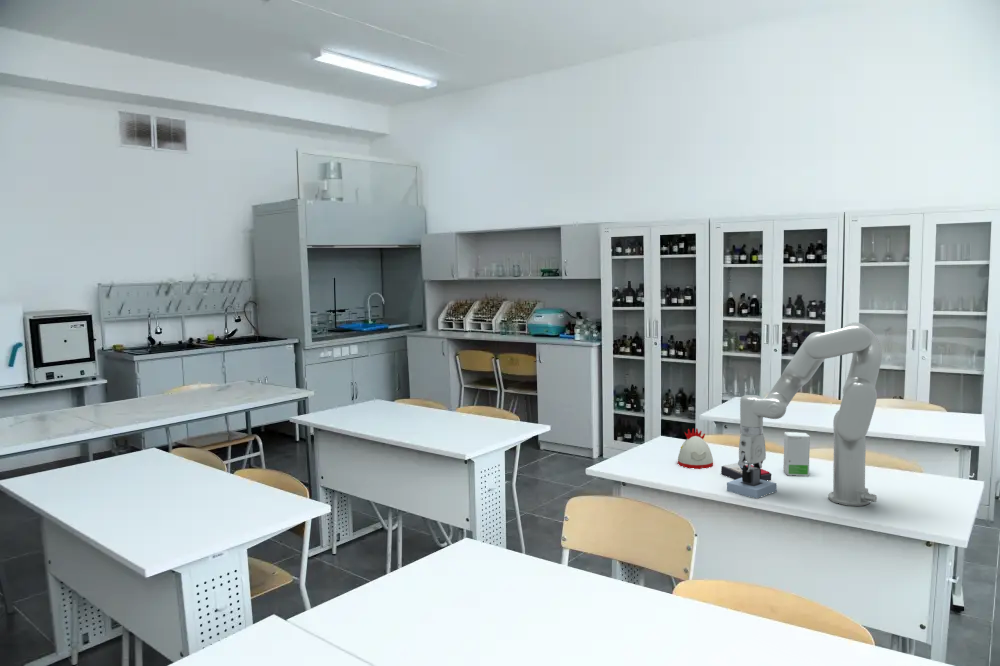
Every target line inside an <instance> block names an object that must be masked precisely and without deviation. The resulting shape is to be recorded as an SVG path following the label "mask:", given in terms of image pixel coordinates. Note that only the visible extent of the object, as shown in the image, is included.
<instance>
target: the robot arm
mask: <svg viewBox="0 0 1000 666" xmlns="http://www.w3.org/2000/svg"><path fill="white" fill-rule="evenodd" d="M848 354H852V356H851V361H850V367H849V370H848V373H847V377H846V380H845V383H844V385H843V388H842V399H841V403H840V406H839V410H837V411H836V413H835V414H834V416H833V425H832V426H833V467H832V468H833V469H832V470H833V474H832V475H833V476H832V477H833V479H832V481H833V482H832V483H833V485H832V486H833V489H832V491H831V492H829V493H828V496H827V498H828V499H829V500H830V501H831V502H833V503H836V504H838V503H839V505H843V506H851V507H861V506H862V507H863V506H867V505H869V504H870V503H871V502H873V503H876V502H877V501H878V497H877V495H876V494H874V493H870V492H869V488H866V453H867V452H866V447H867V446H866V435H867V433H868V432H869V428H870V425H871V421H872V418H873V416H874V411H875V407H876V404H877V400H878V394H877V389H876V384H877V381H878V377H879V372H880V369H881V368H880V367H881V364H882V360H883V359H882V357H883V353H882V346H881V343H880V341H879V339H878V337H877V336H876V335H875V333H874V332H873V331H872V330H871V329H870V328H869V327H868V326H866V325H864V324H863V323H861V322H851V323H848V324H846V325H845V326H843V327H842V328H841V327H840V328H839V329H834V330H829V331H825V332H821V331H814V332H812V333H810V334H809V335H808V336H807V337H806V338H805V339H804V341H803V342H802V343H801V345H800V346H799V348H798V349H797V351H796V352H795V354H794V355H793V357H792V358H791V360H790V361H789V363H788V364H787V366H786V367H785V368H784V369H783V371H782V374H781V375H780V377H779V378H778V380H777V381H776V383H774V385H773V387H772V388H771V390H770V391H769V392H768V394H767V395H766V397H765V398H763V397H762V396H760V395H755V394H745V395H743V396H740V401H739V402H740V404H739V406H740V407H739V410H740V411H739V412H740V413H739V414H740V416H739V418H740V419H739V420H740V421H739V423H740V424H739V428H740V436H739V437H740V438H739V445H738V461H737V463H738V465H739V466H740V468H741V471H742V481H743V482H746V483H751V472H750V468H751V465H753V467H756V468H760V479H761V469H763V468H762V467H763V465H762V464H763V463H764V461H765V460H766V457H767V454H766V453H767V451H766V439H765V434H764V419H765V418H766V419H769V420H778V419H779V420H780V419H781V418H782V417H784V416H785V414H786V411H787V407H788V406H789V404H790V403H791V402H792V400H793V398H795V396H796V394H797V393H798V392H799V390H801V389H802V387H804V385H807V384H808V383H809V381H811V379H812V378H813V376H814V375H815V373H816V372H817V371H818V369H819V367H820V366H821V365H822V363H823V362H824V360H825V359H831V358H835V357H840V356H844V355H848ZM745 464H748V466H747V467H746V465H745Z"/></svg>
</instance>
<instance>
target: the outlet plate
mask: <svg viewBox="0 0 1000 666" xmlns="http://www.w3.org/2000/svg"><path fill="white" fill-rule="evenodd" d="M777 487H778V486H777V483H776V482H773V481H765V480H761V479H760V485H757V486H751V485H747V484H743V481H742V478H739V479H736V480H735V479H733V480H730V481H727V482H726V491H727V492H730V493H734V494H738V495H741V496H744V497H745V496H746V497H748V496H750V498H752V497H754V498H753V499H756V498H758V499H760V498H762V497H761V496H763V497H765V496H764V495H766V494H769V493H771V494H773V493H772V492H774V493H776V492H775V491H777ZM769 495H770V494H769ZM766 496H767V495H766ZM759 497H760V498H759Z"/></svg>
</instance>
